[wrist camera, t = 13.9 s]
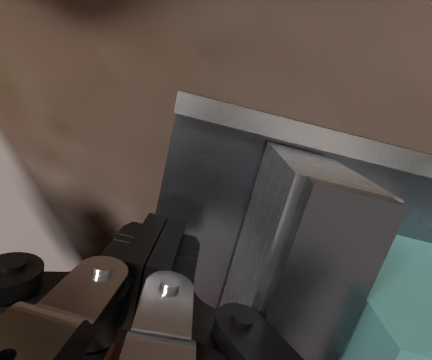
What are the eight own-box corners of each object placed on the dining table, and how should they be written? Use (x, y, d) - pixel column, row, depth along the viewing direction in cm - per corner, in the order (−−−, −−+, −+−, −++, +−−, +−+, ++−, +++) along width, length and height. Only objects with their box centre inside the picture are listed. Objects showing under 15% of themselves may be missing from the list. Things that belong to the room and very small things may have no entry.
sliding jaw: (212, 327, 14) (201, 475, 8) (267, 141, 11) (302, 180, 6) (264, 339, 14) (286, 494, 8) (329, 157, 11) (420, 210, 6)
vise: (142, 301, 16) (84, 436, 9) (186, 92, 13) (144, 85, 6) (411, 364, 16) (527, 535, 10) (515, 176, 13) (779, 248, 7)
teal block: (279, 291, 13) (328, 486, 7) (307, 212, 12) (400, 350, 6) (404, 321, 14) (577, 543, 7) (443, 246, 12) (694, 419, 6)
